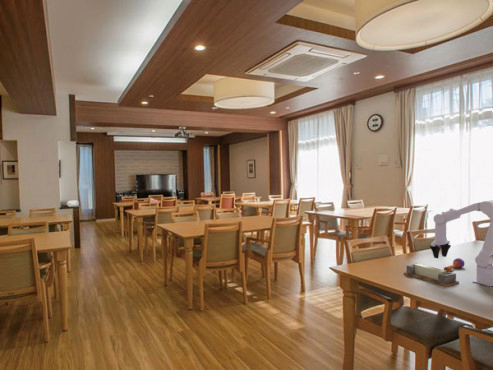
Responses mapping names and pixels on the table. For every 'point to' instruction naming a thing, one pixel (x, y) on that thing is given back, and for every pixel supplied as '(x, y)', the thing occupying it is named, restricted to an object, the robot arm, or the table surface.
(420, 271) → the slat
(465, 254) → the table surface
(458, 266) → the brown piece
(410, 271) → the cradle
